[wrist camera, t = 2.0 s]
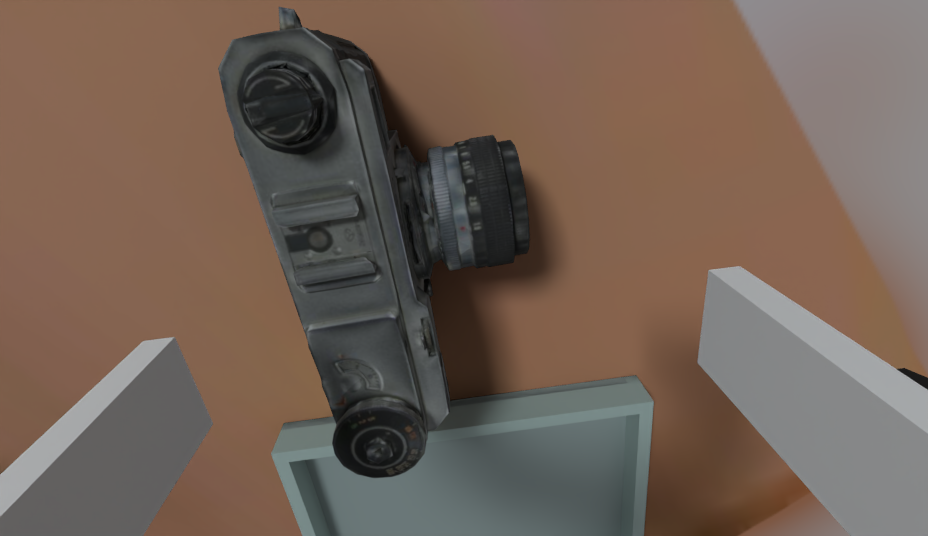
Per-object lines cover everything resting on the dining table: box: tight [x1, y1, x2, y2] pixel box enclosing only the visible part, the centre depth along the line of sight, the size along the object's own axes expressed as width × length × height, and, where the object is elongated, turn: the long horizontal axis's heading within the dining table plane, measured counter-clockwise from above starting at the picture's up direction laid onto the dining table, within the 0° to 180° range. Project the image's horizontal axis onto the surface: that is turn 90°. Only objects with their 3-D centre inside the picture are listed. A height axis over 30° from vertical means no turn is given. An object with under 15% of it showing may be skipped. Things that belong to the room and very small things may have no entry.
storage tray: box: [271, 375, 654, 536], centre depth 31 cm, size 23×17×2 cm
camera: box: [218, 7, 530, 478], centre depth 19 cm, size 18×9×10 cm, turn 10°
